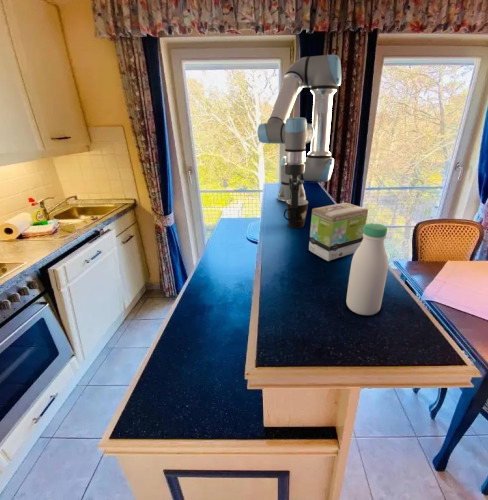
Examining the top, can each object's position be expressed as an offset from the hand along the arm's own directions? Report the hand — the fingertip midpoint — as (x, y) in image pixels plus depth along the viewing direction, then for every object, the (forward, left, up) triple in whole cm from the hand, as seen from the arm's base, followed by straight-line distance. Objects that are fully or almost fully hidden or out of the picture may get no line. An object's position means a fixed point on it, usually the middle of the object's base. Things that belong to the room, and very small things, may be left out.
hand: (293, 221), depth 114 cm
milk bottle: (+54, +14, -2) cm, 56 cm away
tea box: (+24, +13, -2) cm, 27 cm away
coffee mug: (0, 0, -2) cm, 2 cm away
